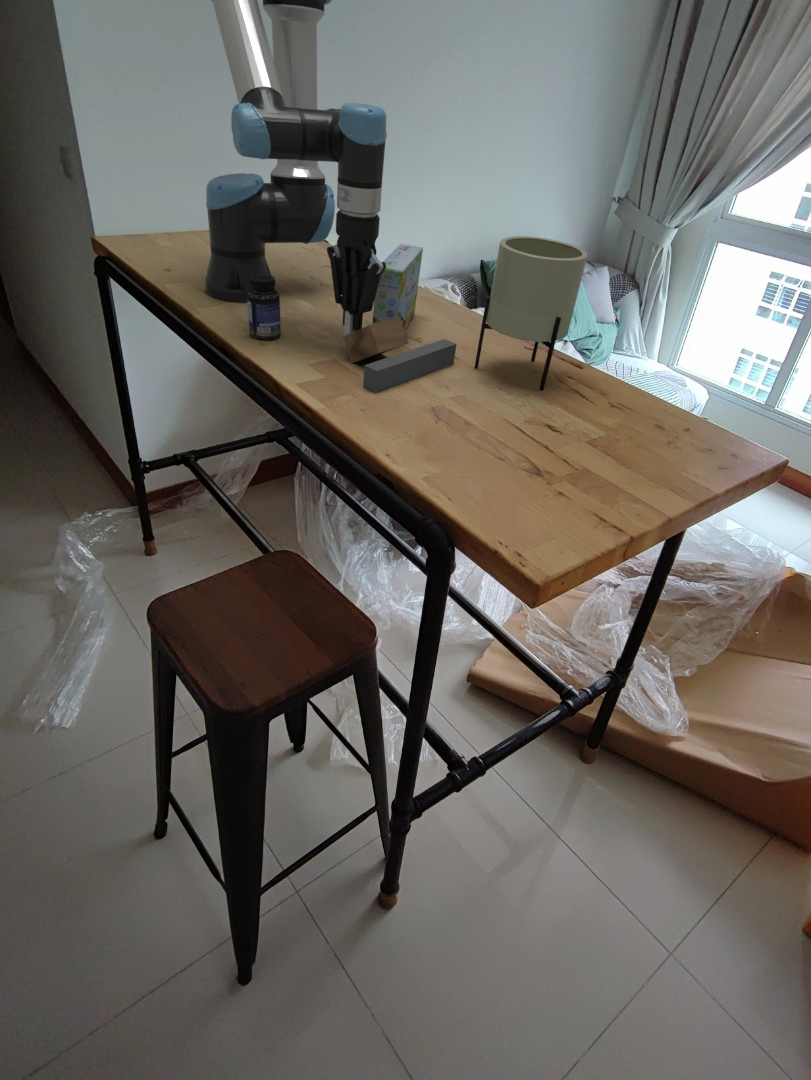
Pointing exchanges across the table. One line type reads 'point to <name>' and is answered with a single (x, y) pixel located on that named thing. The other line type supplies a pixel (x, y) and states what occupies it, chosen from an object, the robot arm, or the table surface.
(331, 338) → the table surface
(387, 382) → the gray rectangular bar
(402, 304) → the snack box
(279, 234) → the robot arm
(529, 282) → the planter
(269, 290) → the pill bottle
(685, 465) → the table surface
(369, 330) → the block
